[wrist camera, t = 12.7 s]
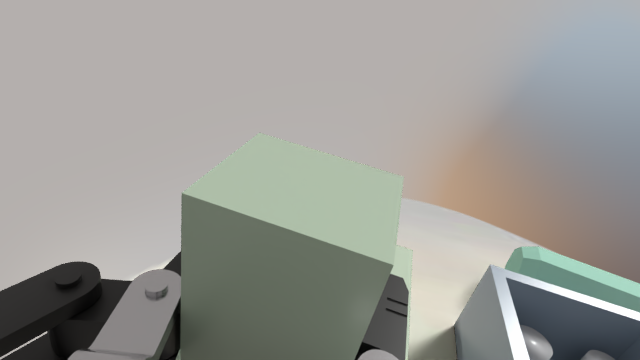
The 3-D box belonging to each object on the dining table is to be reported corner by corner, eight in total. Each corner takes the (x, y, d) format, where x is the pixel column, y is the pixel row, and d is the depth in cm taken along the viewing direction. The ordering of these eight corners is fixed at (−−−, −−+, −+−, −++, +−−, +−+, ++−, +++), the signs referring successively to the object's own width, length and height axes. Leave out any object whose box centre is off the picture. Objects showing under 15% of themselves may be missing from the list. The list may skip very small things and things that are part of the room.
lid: (408, 259, 23) (476, 105, 18) (391, 560, 11) (601, 337, 5) (262, 210, 25) (285, 53, 19) (93, 424, 12) (28, 143, 7)
